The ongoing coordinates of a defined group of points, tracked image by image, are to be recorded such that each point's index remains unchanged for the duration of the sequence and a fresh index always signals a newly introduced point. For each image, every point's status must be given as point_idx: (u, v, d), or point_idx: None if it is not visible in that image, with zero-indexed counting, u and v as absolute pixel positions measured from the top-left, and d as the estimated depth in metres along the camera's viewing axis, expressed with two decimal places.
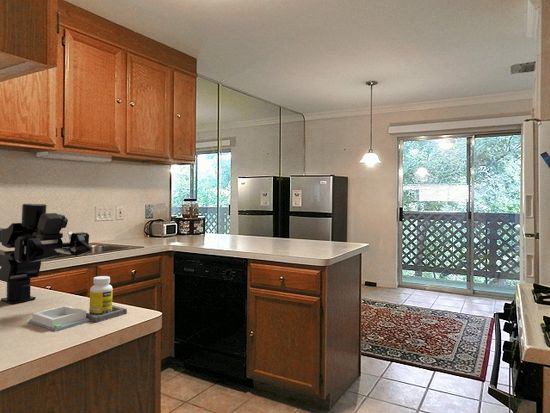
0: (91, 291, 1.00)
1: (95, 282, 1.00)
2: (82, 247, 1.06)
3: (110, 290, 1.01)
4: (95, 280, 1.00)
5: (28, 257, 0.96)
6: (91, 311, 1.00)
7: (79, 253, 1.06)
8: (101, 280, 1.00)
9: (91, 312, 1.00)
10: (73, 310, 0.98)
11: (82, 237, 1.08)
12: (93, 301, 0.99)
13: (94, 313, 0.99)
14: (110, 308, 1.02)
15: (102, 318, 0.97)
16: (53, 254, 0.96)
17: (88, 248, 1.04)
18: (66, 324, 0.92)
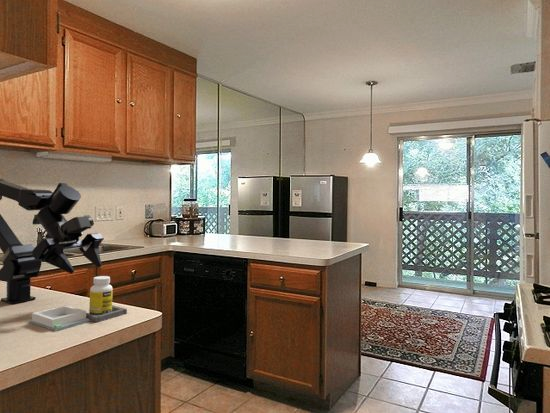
0: (91, 291, 1.00)
1: (95, 282, 1.00)
2: (93, 256, 1.09)
3: (110, 290, 1.01)
4: (95, 280, 1.00)
5: (45, 259, 0.98)
6: (91, 311, 1.00)
7: (88, 257, 1.09)
8: (101, 280, 1.00)
9: (91, 312, 1.00)
10: (73, 310, 0.98)
11: (98, 243, 1.10)
12: (93, 301, 0.99)
13: (94, 313, 0.99)
14: (110, 308, 1.02)
15: (102, 318, 0.97)
16: (69, 271, 0.99)
17: (99, 264, 1.08)
18: (66, 324, 0.92)
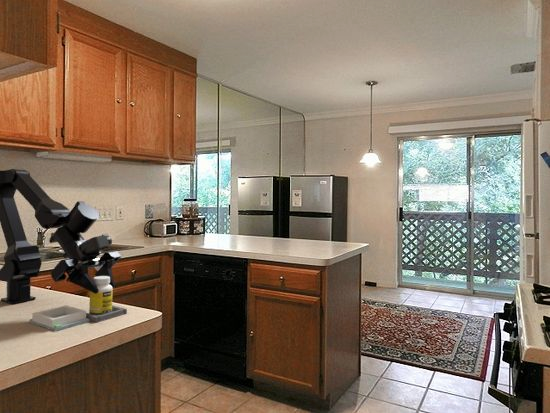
0: None
1: (95, 282, 1.00)
2: None
3: (110, 290, 1.01)
4: (95, 280, 1.00)
5: (70, 279, 0.98)
6: (91, 311, 1.00)
7: None
8: (101, 280, 1.00)
9: (91, 312, 1.00)
10: (73, 310, 0.98)
11: (111, 263, 1.07)
12: (93, 301, 0.99)
13: (94, 313, 0.99)
14: (110, 308, 1.02)
15: (102, 318, 0.97)
16: (94, 291, 0.99)
17: (112, 285, 1.04)
18: (66, 324, 0.92)
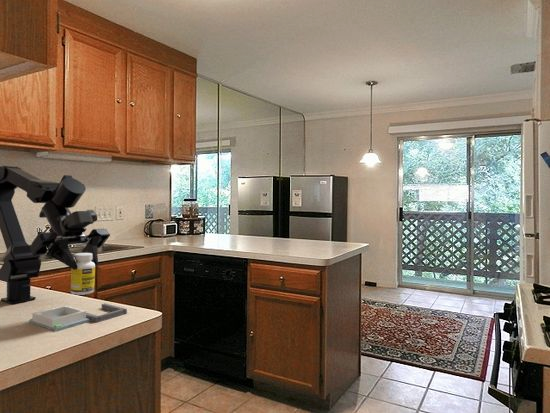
0: None
1: (76, 258, 0.97)
2: None
3: (91, 267, 0.97)
4: (76, 256, 0.97)
5: (50, 253, 0.95)
6: (71, 288, 0.97)
7: None
8: (81, 256, 0.96)
9: (71, 289, 0.97)
10: (73, 310, 0.98)
11: (97, 240, 1.03)
12: (73, 278, 0.96)
13: (74, 290, 0.96)
14: (91, 286, 0.98)
15: (102, 318, 0.97)
16: (73, 267, 0.95)
17: (95, 263, 1.00)
18: (66, 324, 0.92)
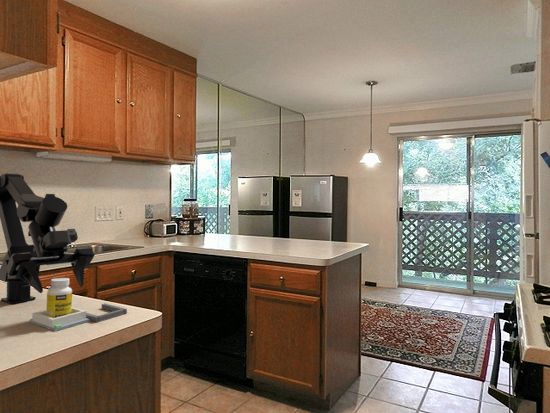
0: (47, 293, 0.94)
1: (51, 284, 0.94)
2: (78, 274, 0.99)
3: (65, 293, 0.94)
4: (51, 281, 0.94)
5: (18, 275, 0.92)
6: (46, 314, 0.94)
7: (75, 274, 1.01)
8: (55, 282, 0.93)
9: (46, 315, 0.94)
10: (73, 310, 0.98)
11: (85, 260, 1.01)
12: (47, 304, 0.93)
13: None
14: (66, 313, 0.94)
15: (102, 318, 0.97)
16: (38, 290, 0.91)
17: (81, 283, 0.98)
18: (66, 324, 0.92)
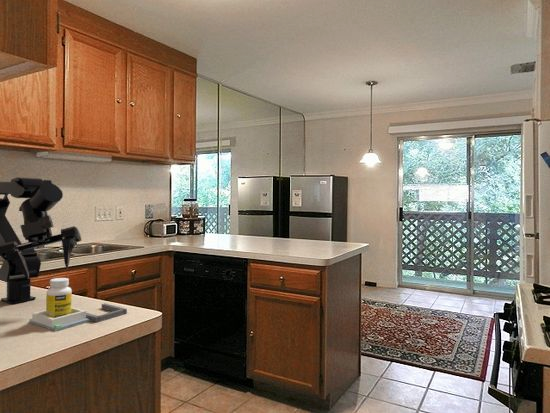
0: None
1: (50, 284, 0.94)
2: None
3: (65, 294, 0.94)
4: (50, 282, 0.94)
5: (12, 260, 1.03)
6: (46, 314, 0.94)
7: None
8: (55, 282, 0.93)
9: None
10: (73, 310, 0.98)
11: (68, 241, 1.04)
12: (47, 304, 0.93)
13: None
14: (65, 313, 0.94)
15: (102, 318, 0.97)
16: (26, 276, 1.01)
17: (65, 265, 1.04)
18: (66, 324, 0.92)
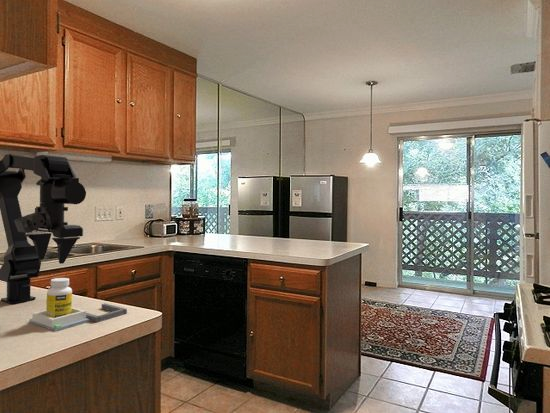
0: (47, 293, 0.94)
1: (51, 284, 0.94)
2: None
3: (65, 294, 0.94)
4: (51, 282, 0.94)
5: None
6: (46, 314, 0.94)
7: None
8: (55, 282, 0.93)
9: (46, 315, 0.94)
10: (73, 310, 0.98)
11: (57, 241, 0.99)
12: (47, 304, 0.93)
13: None
14: (65, 313, 0.94)
15: (102, 318, 0.97)
16: None
17: None
18: (66, 324, 0.92)
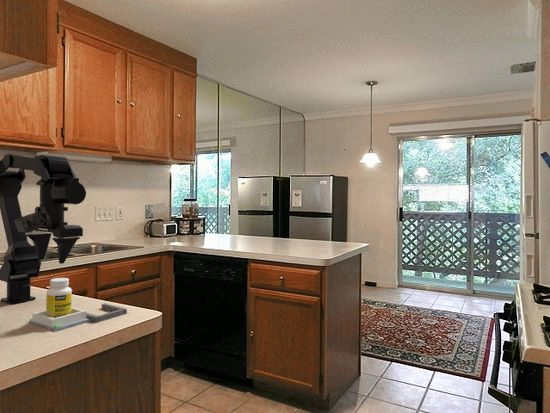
0: None
1: (50, 284, 0.94)
2: None
3: (65, 294, 0.94)
4: (50, 282, 0.94)
5: None
6: (46, 314, 0.94)
7: None
8: (55, 282, 0.93)
9: None
10: (73, 310, 0.98)
11: (57, 241, 0.99)
12: (47, 304, 0.93)
13: None
14: (65, 313, 0.94)
15: (102, 318, 0.97)
16: None
17: None
18: (66, 324, 0.92)
